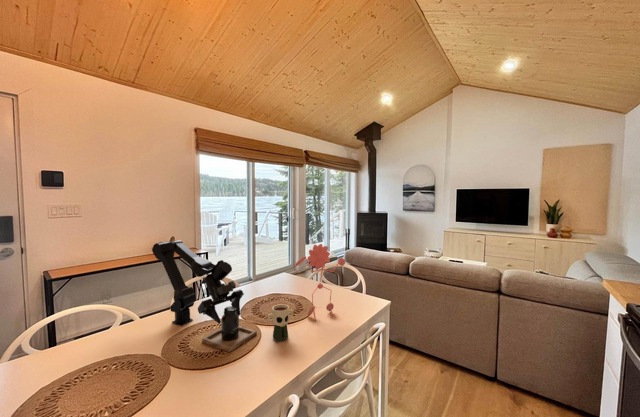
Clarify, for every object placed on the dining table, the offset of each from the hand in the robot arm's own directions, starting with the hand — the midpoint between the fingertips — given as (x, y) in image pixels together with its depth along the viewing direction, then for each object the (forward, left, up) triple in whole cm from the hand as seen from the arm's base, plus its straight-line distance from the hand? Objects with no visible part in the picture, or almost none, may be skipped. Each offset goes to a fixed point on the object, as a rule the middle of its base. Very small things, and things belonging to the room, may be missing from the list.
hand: (230, 319), depth 114 cm
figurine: (+20, +39, -8) cm, 45 cm away
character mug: (+18, +10, -8) cm, 22 cm away
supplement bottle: (0, 0, -8) cm, 8 cm away
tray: (0, 0, -8) cm, 8 cm away
